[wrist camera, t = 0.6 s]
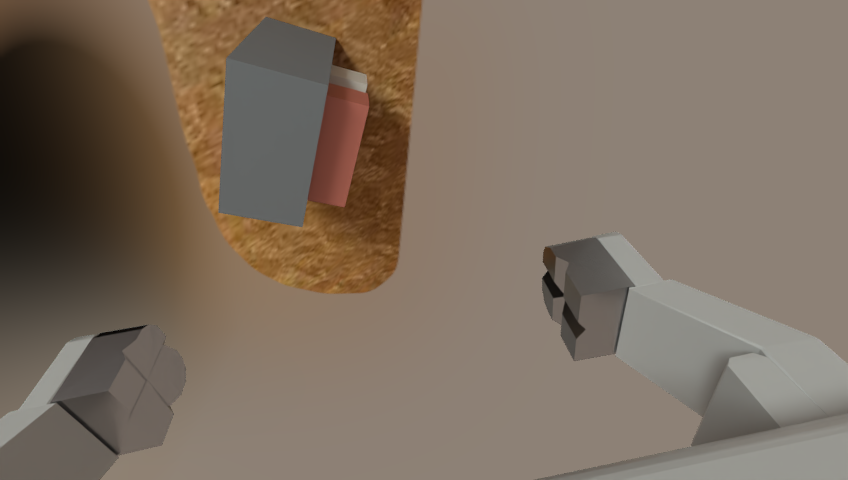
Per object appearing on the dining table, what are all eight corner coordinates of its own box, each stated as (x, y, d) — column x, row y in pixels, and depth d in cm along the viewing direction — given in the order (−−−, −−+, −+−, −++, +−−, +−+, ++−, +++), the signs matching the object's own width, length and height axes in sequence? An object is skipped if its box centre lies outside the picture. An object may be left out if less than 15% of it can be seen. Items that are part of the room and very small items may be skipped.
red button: (368, 93, 38) (369, 106, 35) (345, 189, 43) (344, 207, 40) (322, 81, 36) (320, 93, 34) (304, 181, 42) (301, 198, 39)
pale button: (366, 74, 42) (367, 84, 40) (346, 163, 48) (345, 177, 45) (326, 63, 41) (324, 72, 39) (310, 155, 47) (307, 169, 44)
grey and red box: (335, 38, 44) (328, 85, 31) (315, 149, 51) (302, 227, 38) (265, 16, 42) (226, 57, 29) (254, 136, 49) (218, 212, 36)
